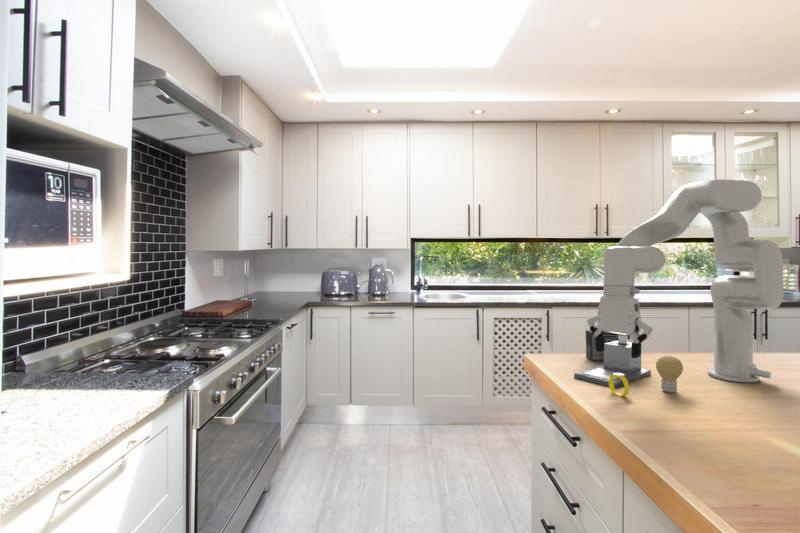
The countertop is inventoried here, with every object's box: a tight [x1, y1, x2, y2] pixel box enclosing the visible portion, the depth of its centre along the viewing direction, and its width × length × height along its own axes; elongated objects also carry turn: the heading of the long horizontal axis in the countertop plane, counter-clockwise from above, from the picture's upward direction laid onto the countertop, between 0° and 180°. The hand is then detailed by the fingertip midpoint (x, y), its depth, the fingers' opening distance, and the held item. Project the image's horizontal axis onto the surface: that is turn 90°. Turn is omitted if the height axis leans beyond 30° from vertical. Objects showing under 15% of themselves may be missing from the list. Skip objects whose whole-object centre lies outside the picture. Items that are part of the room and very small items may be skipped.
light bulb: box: [655, 355, 684, 394], centre depth 119 cm, size 6×6×10 cm
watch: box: [608, 373, 630, 398], centre depth 116 cm, size 6×3×6 cm, turn 17°
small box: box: [585, 329, 618, 362], centre depth 155 cm, size 11×6×10 cm, turn 84°
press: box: [573, 340, 652, 389], centre depth 134 cm, size 13×22×10 cm, turn 126°
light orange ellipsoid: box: [618, 334, 628, 345], centre depth 137 cm, size 4×4×8 cm
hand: (617, 353), depth 116 cm, fingers open, 9 cm apart
